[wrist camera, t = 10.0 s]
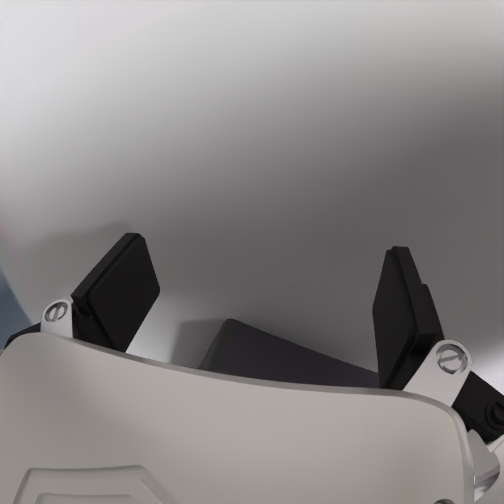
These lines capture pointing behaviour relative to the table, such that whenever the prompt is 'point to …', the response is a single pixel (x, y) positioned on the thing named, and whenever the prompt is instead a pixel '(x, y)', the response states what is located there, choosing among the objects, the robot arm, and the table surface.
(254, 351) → the calculator
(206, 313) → the table surface
